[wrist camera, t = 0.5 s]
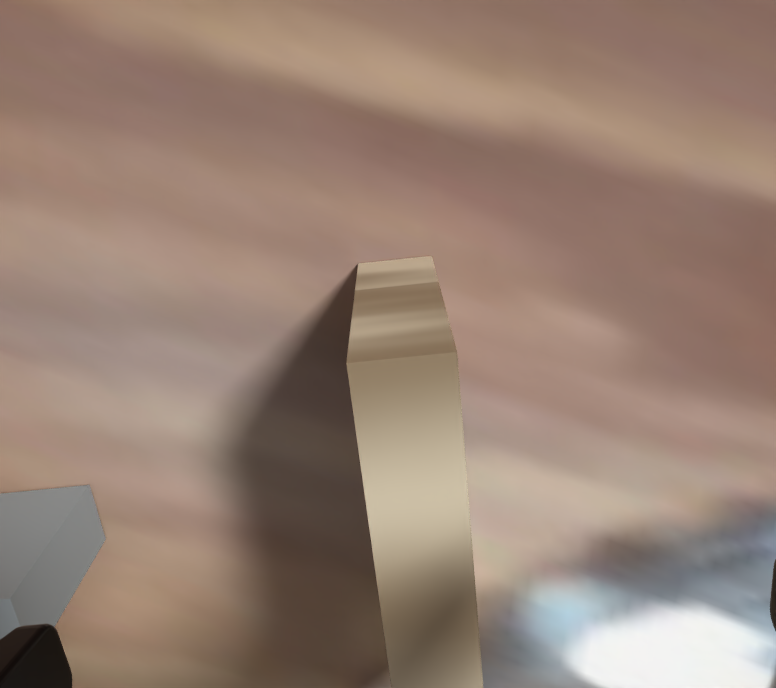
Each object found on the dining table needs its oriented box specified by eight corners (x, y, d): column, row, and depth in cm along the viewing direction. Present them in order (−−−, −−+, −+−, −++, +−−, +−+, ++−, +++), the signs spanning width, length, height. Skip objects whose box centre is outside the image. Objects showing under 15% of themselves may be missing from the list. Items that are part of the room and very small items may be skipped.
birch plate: (462, 608, 24) (492, 813, 17) (402, 613, 24) (409, 820, 17) (431, 256, 19) (457, 351, 13) (358, 263, 19) (346, 362, 13)
